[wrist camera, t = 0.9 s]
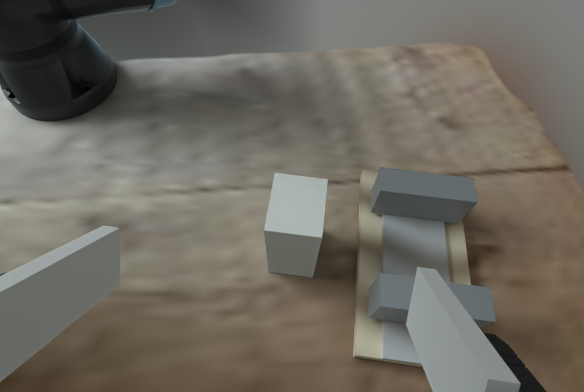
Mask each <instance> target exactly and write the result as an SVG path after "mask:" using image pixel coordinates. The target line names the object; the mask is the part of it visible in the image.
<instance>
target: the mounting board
mask: <svg viewBox="0 0 584 392" xmlns="http://www.w3.org/2000/svg"><path fill="white" fill-rule="evenodd" d="M378 173H379V171H371V170H362V173H361V176H360V200H359V225H358V250H357V275H356V301H355V326H354V351H353V357H357V358H364V359H371V360H378V361H385V362H392V363H398V364H405V365H412V366H419V367H423V366H422V364H421V361H420V359H419V356H418V354H417V351H416V349H415V346H414V344H413V341H412V339H411V336H410V334H409V331H408V329H407V326H406V323H400V322H393V321H386V320H379V319H372V318H368V310H369V288H370V286H371V285H372V284H373V282H374V281H375V280H376V278H377V277H378V275H379V274H380V273H383V274H390V275H398V276H406V277H413V278H415V276H416V271H417V267H423V268H430V269H436V270H437V272H438V273H439V274H440V276H441V277H442V278H443V280H444V281H445V282H451V283H458V284H466V285H471V281H470V273H469V265H468V258H467V250H466V242H465V234H464V226H463V218H462V219H461V220H460V221H459V222H458V223H457V224H456V223H448V222H440V221H432V220H424V219H416V218H408V217H400V216H392V215H384V214H376V213H371V190H372V187H373V185H374V183H375V180H376V178H377V175H378Z"/></svg>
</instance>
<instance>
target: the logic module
mask: <svg viewBox="0 0 584 392" xmlns="http://www.w3.org/2000/svg"><path fill="white" fill-rule="evenodd" d="M327 182H328V179H321V178H313V177H305V176H297V175H288V174H280V173H275V175H274V180H273V186H272V191H271V196H270V202H269V207H268V212H267V217H266V223H265V228H264V234H265V243H266V252H267V261H268V270H269V272H274V273H281V274H289V275H296V276H303V277H311V278H313V275H314V271H315V266H316V262H317V258H318V253H319V249H320V245H321V240H322V234H323V224H324V213H325V203H326V192H327Z"/></svg>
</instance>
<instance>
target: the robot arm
mask: <svg viewBox="0 0 584 392" xmlns="http://www.w3.org/2000/svg"><path fill="white" fill-rule="evenodd" d="M176 1H177V0H0V85H1V88H2V90H3V93H4V94H5V96H6V98H7V99H8V100H9V101H10V102H11V103H12V105H13V106H14V107H15V108H16V109H17V110H18V111H19V112H20V113H22V114H23V115H25V116H27V117H30V118H33V119H38V120H61V119H66V118H70V117H74V116H77V115H80V114H82V113H85V112H87V111H89V110H90V109H92V108H94V107H95V106H97V105H98V104H100V103H101V102H102V101H103V100H104V99H105V98H106V97H107V96H108V95H109V94H110V93H111V91H112V90H113V88H114V86H115V83H116V79H117V72H116V69H115V66H114V64H113V62H112V60H111V58H110V57H109V55H108V53H107V52H106V51H105V50H104V49H103V48H102V47H101V46H100V45H99V44H98V43H97V42H96V41H95V40H94V39H93V38H92V37H91V36H90V35H89V34H88V33H87V32H86V31H85V30H84V29H83V28H82V27H81V26H80V25H79V24H78V22H77V20H76V19H80V18H86V17H95V16H104V15H113V14H122V13H130V12H139V11H153V10H154V9H156V8H159V7H165V6H170V5H173V4H174V3H175V2H176ZM118 285H120V228H117V227H110V226H102V227H100V228H97V229H95V230H93V231H91V232H89V233H87V234H85V235H83V236H81V237H79V238H77V239H75V240H73V241H71V242H69V243H67V244H65V245H63V246H61V247H59V248H57V249H55V250H52V251H50V252H48V253H46V254H44V255H42V256H40V257H38V258H36V259H34V260H32V261H30V262H28V263H26V264H24V265H22V266H20V267H18V268H16V269H14V270H12V271H10V272H7V273H3V274H1V275H0V382H1V381H2V380H3V379H5V378H6V377H7V376H8V375H9V374H11V373H12V372H13V371H14V370H16V369H17V368H18V367H19V366H21V365H22V364H23V363H24V362H25V361H27V360H28V359H29V358H30V357H32V356H33V355H34V354H35V353H36V352H38V351H39V350H40V349H41V348H43V347H44V346H45V345H46V344H47V343H49V342H50V341H51V340H52V339H54V338H55V337H56V336H57V335H58V334H60V333H61V332H62V331H63V330H65V329H66V328H67V327H68V326H69V325H71V324H72V323H73V322H74V321H76V320H77V319H78V318H79V317H80V316H82V315H83V314H84V313H85V312H87V311H88V310H89V309H90V308H91V307H93V306H94V305H95V304H96V303H98V302H99V301H100V300H101V299H103V298H104V297H105V296H106V295H107V294H109V293H110V292H111V291H112V290H114V289H115V288H116V287H117V286H118ZM406 326H407V329H408V331H409V334H410V336H411V339H412V341H413V344H414V346H415V349H416V351H417V354H418V356H419V359H420V361H421V364H422V366H423V369H424V371H425V374H426V376H427V379H428V381H429V384H430V386H431V389H432V391H433V392H546V391H545V389H544V388H543V387H542V386H541V384H540V383H539V382H538V381H537V380H536V378H535V377H534V376H533V375H532V373H531V372H530V371H529V370H528V369H527V368H525V365H524V364H523V362H522V361H521V360H520V359H519V358H517V355H516V354H515V353H514V351H513V350H512V349H511V348H510V346H509V345H508V344H506V343H505V342H504V341H502V340H501V339H500V338H498V337H497V336H496V335H494V334H487V333H483V332H482V331H481V330H480V328H479V327H478V326H477V324H476V323H475V321H474V320H473V319H472V317H471V316H470V315H469V313H468V312H467V311H466V309H465V308H464V307H463V305H462V304H461V303H460V301H459V300H458V299H457V297H456V296H455V295H454V293H453V292H452V291H451V289H450V288H449V286H448V285H447V284H446V282H445V281H444V280H443V278H442V277H441V276H440V274H439V273H438V272H437V270H436V269H430V268H423V267H417V271H416V276H415V281H414V286H413V291H412V296H411V301H410V307H409V312H408V317H407V322H406Z"/></svg>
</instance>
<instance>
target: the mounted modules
mask: <svg viewBox="0 0 584 392" xmlns="http://www.w3.org/2000/svg"><path fill="white" fill-rule="evenodd" d="M476 203H477V196H476V190H475V184H474V178H466V177H458V176H449V175H441V174H432V173H424V172H415V171H407V170H398V169H390V168H380V170H379V173H378V175H377V178H376V180H375V183H374V185H373V187H372V190H371V213H376V214H384V215H392V216H400V217H408V218H416V219H424V220H432V221H440V222H448V223H456V224H457V223H458V222H459V221H460V220H461V219H462V218H463V217H464V216H465V215H466V214H467V213H468V212H469V211H470V210H471V209H472V208H473V206H474V205H475V204H476ZM414 281H415V278H413V277H406V276H398V275H390V274H383V273H380V274H379V275H378V277H377V278H376V280H375V281H374V282H373V284H372V285H371V286H370V288H369V310H368V318H372V319H379V320H386V321H393V322H400V323H406V322H407V317H408V312H409V307H410V301H411V296H412V291H413V286H414ZM446 284H447V285H448V286H449V288H450V289H451V291H452V292H453V293H454V295H455V296H456V297H457V299H458V300H459V301H460V303H461V304H462V305H463V307H464V308H465V309H466V311H467V312H468V313H469V315H470V316H471V317H472V319H473V320H474V321H475V323H476V324H477V326H478V327H479V328H482V327H484V326H487V325H490V324H492V323H495V322H496V318H495V312H494V305H493V299H492V293H491V288H488V287H481V286H473V285H466V284H458V283H451V282H446Z"/></svg>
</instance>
